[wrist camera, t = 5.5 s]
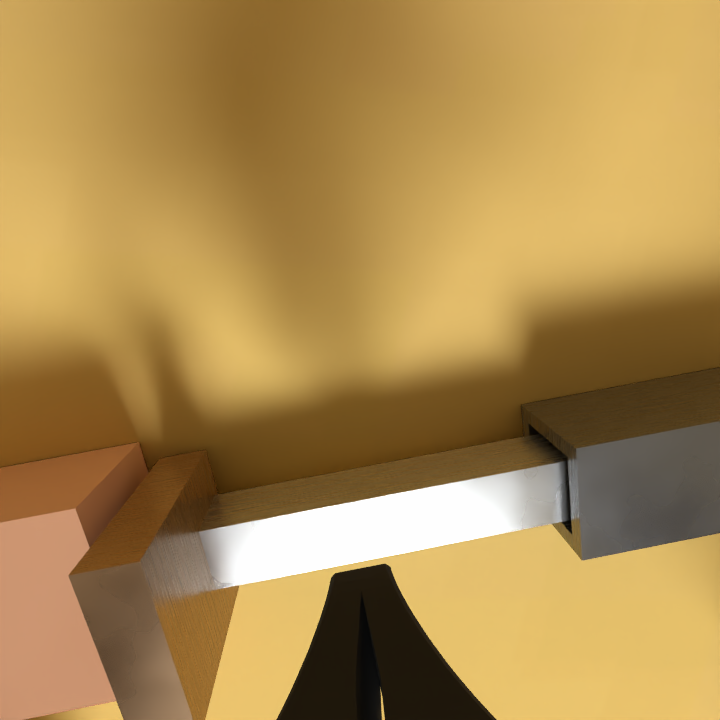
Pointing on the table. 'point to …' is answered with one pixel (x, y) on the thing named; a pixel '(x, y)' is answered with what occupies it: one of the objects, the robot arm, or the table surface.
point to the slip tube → (279, 549)
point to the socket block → (54, 576)
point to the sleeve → (637, 461)
